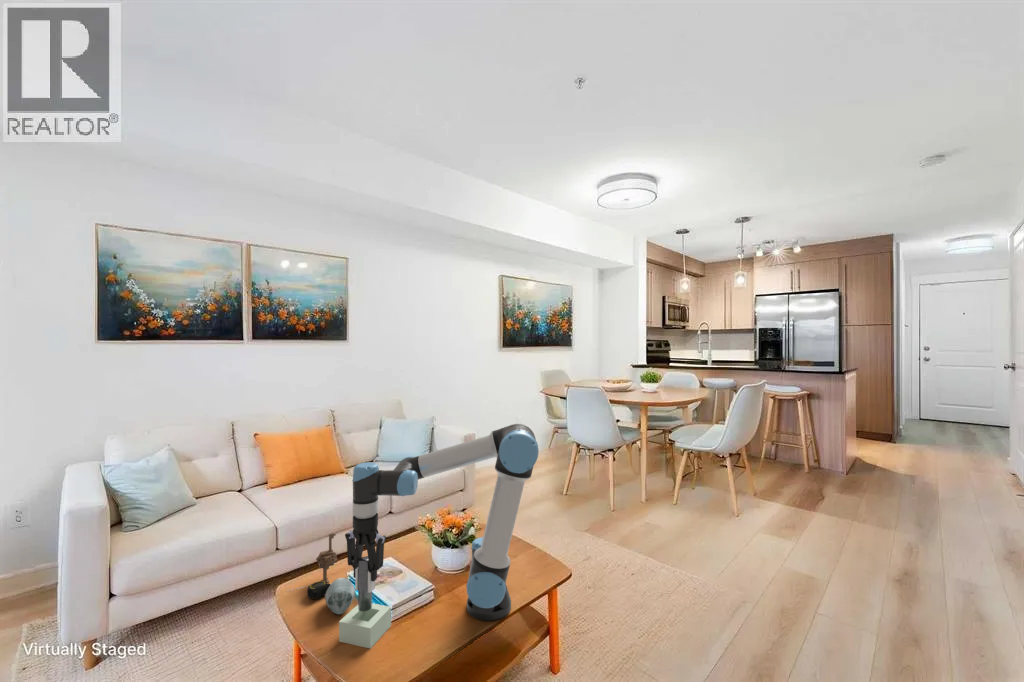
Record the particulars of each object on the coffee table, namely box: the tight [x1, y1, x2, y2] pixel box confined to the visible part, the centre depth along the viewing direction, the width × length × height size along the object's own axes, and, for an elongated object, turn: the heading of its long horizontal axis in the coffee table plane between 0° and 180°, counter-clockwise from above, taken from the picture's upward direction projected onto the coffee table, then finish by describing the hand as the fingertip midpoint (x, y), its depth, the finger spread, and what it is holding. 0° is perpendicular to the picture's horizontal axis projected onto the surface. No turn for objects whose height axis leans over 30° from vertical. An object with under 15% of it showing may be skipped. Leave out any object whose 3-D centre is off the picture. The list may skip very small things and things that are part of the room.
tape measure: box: [307, 580, 332, 600], centre depth 157 cm, size 7×7×4 cm
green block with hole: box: [338, 602, 392, 650], centre depth 137 cm, size 11×11×6 cm
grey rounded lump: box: [324, 577, 356, 615], centre depth 150 cm, size 14×10×10 cm
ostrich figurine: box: [286, 532, 338, 592], centre depth 164 cm, size 17×7×18 cm, turn 121°
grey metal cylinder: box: [357, 555, 373, 611], centre depth 137 cm, size 4×4×15 cm
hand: (365, 589), depth 137 cm, fingers closed on grey metal cylinder, 4 cm apart
